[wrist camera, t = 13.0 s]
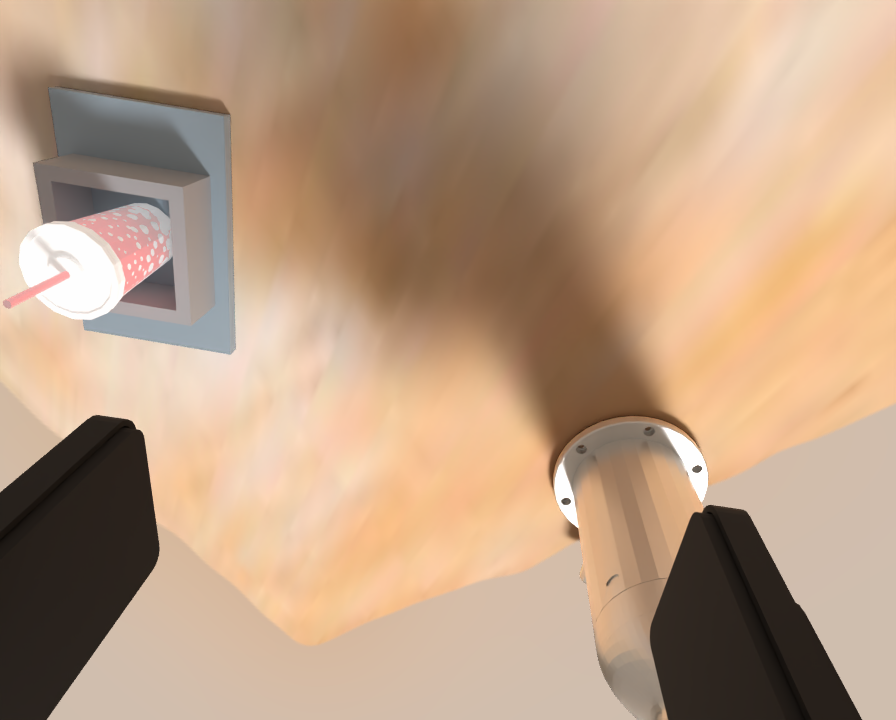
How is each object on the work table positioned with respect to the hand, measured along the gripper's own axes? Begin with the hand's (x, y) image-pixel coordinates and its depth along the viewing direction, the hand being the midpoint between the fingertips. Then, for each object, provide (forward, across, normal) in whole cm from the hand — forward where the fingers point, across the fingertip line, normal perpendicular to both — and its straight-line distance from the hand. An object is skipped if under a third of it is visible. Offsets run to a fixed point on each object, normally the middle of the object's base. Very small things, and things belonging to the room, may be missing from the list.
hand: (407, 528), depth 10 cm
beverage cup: (+34, +24, +7) cm, 42 cm away
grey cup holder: (+35, +24, +7) cm, 43 cm away
